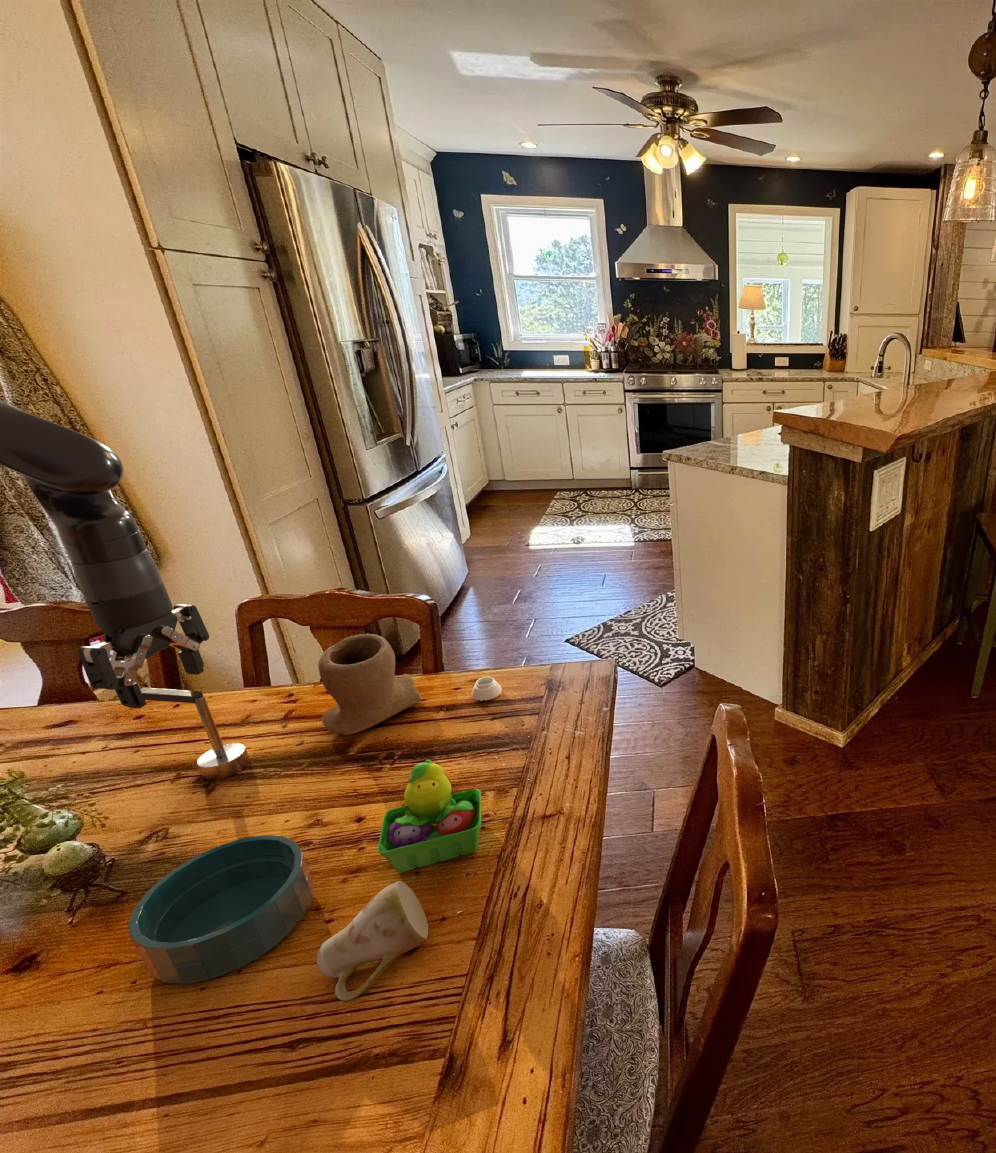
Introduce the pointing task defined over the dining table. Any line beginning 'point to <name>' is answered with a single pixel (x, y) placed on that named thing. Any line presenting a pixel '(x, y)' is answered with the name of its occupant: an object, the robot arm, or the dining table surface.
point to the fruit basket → (430, 821)
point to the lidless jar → (486, 689)
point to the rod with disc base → (221, 757)
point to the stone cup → (363, 684)
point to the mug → (374, 937)
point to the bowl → (222, 909)
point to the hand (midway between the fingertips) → (167, 689)
